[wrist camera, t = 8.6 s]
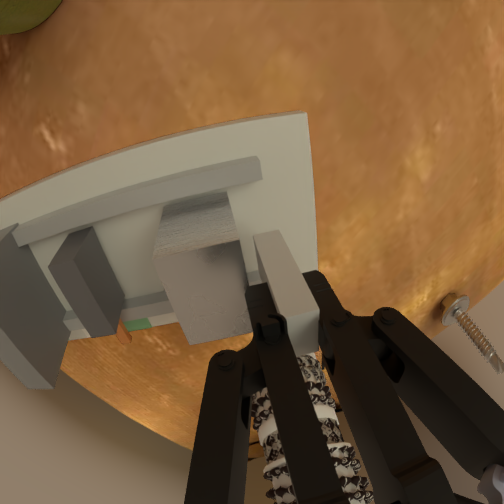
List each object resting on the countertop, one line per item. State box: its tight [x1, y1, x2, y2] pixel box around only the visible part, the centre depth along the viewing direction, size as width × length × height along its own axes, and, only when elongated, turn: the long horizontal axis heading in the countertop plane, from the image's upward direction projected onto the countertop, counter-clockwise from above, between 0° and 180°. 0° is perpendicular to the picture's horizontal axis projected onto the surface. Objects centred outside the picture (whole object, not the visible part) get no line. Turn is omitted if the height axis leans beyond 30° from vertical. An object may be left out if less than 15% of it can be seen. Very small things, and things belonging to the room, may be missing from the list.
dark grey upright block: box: [48, 226, 132, 344], centre depth 18 cm, size 9×2×4 cm, turn 9°
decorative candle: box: [251, 352, 374, 504], centre depth 21 cm, size 9×9×25 cm
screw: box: [440, 294, 504, 374], centre depth 27 cm, size 13×5×5 cm
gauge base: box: [0, 110, 318, 389], centre depth 17 cm, size 14×24×8 cm, turn 99°
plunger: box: [152, 191, 253, 345], centre depth 17 cm, size 6×4×6 cm, turn 9°
